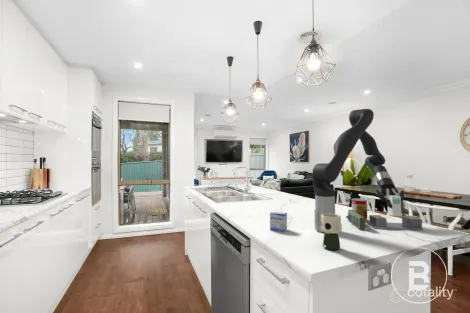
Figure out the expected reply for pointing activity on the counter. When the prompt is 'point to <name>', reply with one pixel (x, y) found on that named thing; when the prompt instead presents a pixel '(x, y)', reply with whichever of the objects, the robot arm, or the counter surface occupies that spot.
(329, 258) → the counter surface
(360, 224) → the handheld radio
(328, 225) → the character mug
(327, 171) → the robot arm
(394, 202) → the block
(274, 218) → the medicine box
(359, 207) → the canned food
